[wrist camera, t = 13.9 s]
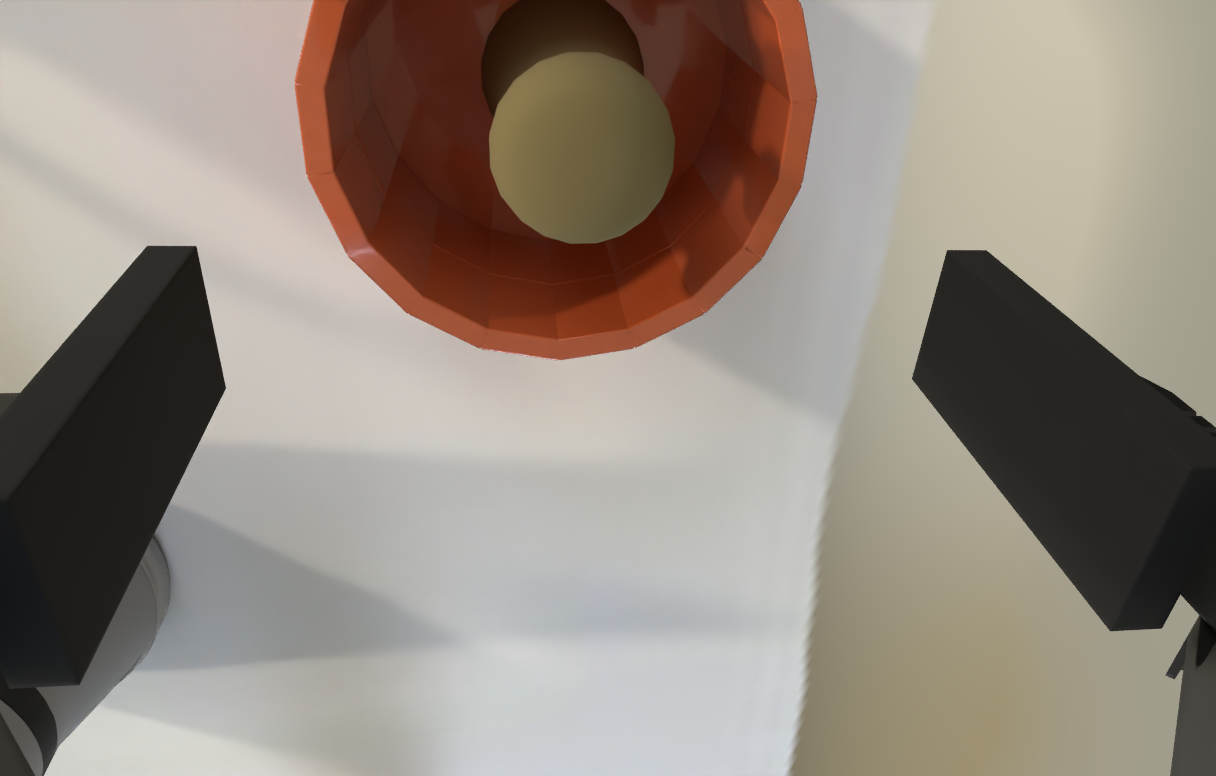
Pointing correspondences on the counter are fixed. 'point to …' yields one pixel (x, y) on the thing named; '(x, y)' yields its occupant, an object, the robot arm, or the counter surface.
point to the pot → (482, 220)
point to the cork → (574, 120)
